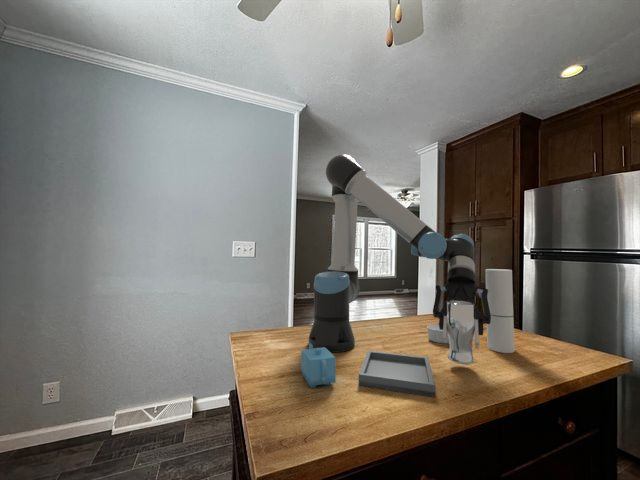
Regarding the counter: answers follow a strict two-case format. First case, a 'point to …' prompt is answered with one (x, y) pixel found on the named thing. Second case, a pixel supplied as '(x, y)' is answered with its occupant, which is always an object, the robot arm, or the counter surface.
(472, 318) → the beer glass
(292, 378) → the counter surface
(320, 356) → the teapot
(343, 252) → the robot arm
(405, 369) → the tray
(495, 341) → the cylindrical container
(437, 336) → the ramekin
